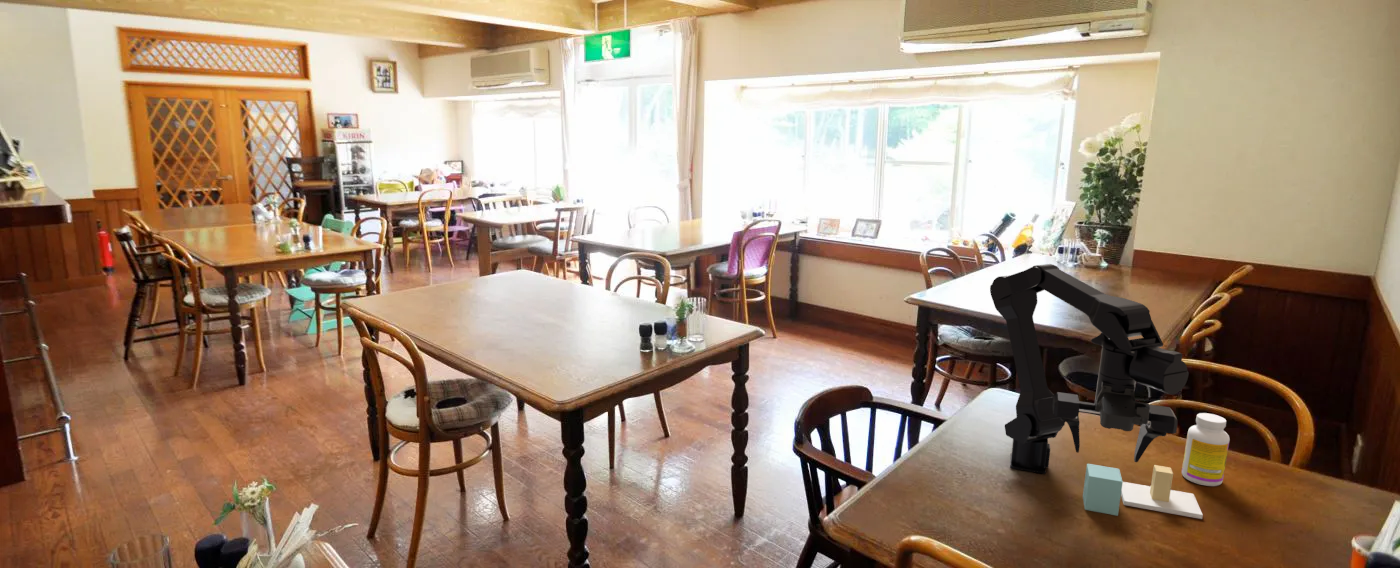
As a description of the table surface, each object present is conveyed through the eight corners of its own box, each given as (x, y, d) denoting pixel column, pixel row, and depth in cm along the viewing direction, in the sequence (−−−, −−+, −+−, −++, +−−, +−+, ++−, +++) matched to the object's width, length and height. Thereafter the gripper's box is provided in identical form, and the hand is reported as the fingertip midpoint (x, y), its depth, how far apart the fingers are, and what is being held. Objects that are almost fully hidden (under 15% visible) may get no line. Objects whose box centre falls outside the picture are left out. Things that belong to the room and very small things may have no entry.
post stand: (1123, 504, 131) (1128, 472, 130) (1118, 484, 138) (1122, 454, 137) (1202, 519, 126) (1207, 485, 125) (1192, 497, 133) (1197, 466, 132)
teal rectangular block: (1084, 509, 129) (1089, 476, 128) (1082, 495, 134) (1086, 463, 133) (1117, 515, 127) (1122, 481, 126) (1114, 501, 132) (1119, 468, 131)
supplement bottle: (1228, 489, 136) (1240, 426, 133) (1190, 485, 138) (1200, 423, 135) (1212, 472, 143) (1222, 412, 140) (1175, 469, 144) (1184, 409, 141)
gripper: (1059, 381, 122) (1049, 466, 125) (1190, 398, 114) (1175, 487, 118) (1057, 361, 132) (1047, 440, 135) (1177, 376, 124) (1163, 458, 128)
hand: (1105, 456), depth 129 cm, fingers open, 9 cm apart
